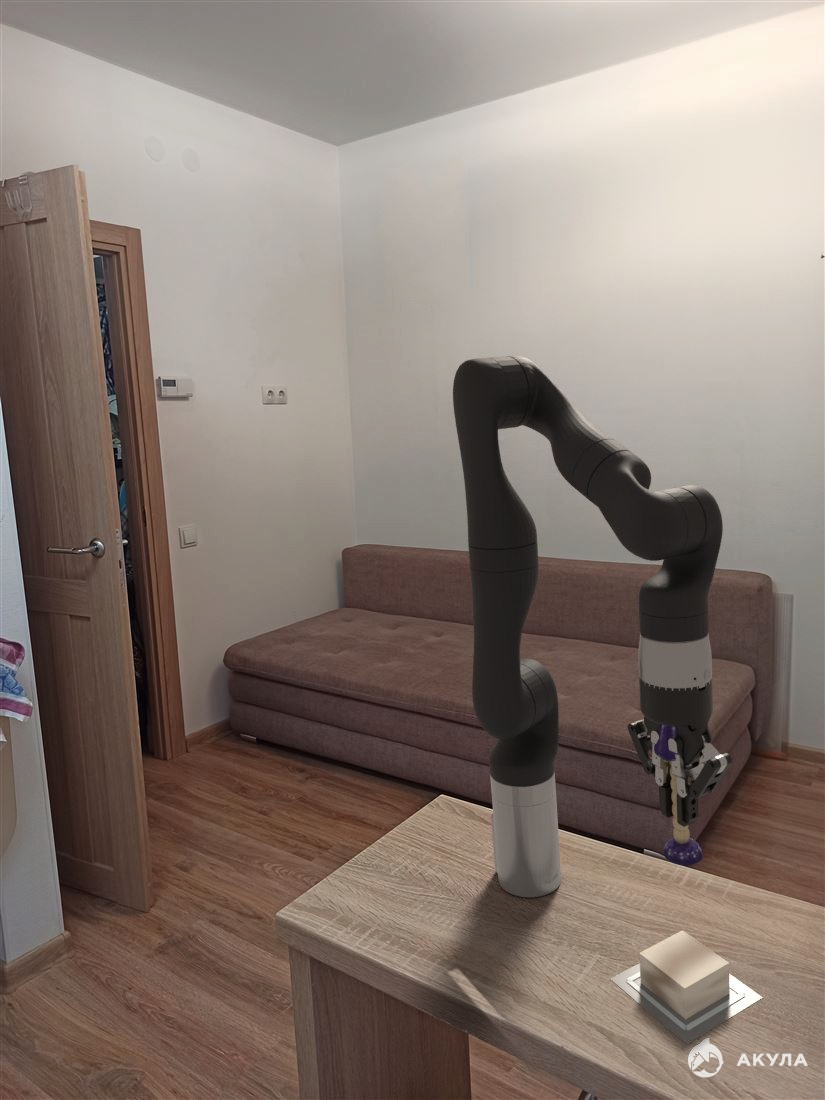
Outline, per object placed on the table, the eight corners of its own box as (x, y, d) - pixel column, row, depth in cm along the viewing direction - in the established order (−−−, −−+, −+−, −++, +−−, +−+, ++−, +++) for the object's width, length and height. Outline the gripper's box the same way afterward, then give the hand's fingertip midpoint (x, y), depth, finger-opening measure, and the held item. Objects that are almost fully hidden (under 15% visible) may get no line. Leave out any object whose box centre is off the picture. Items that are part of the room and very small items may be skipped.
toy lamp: (706, 868, 90) (699, 725, 87) (662, 868, 91) (654, 726, 88) (700, 845, 94) (693, 708, 91) (658, 844, 95) (650, 709, 92)
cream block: (640, 982, 97) (639, 953, 97) (683, 959, 101) (682, 930, 100) (685, 1019, 91) (684, 988, 90) (729, 993, 94) (729, 963, 94)
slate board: (610, 986, 99) (610, 978, 98) (682, 946, 104) (682, 939, 104) (686, 1052, 88) (686, 1043, 88) (762, 1005, 94) (762, 996, 93)
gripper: (604, 664, 93) (611, 804, 96) (699, 700, 81) (703, 858, 84) (654, 649, 96) (658, 785, 99) (752, 681, 84) (753, 834, 87)
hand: (679, 818), depth 92 cm, fingers closed on toy lamp
